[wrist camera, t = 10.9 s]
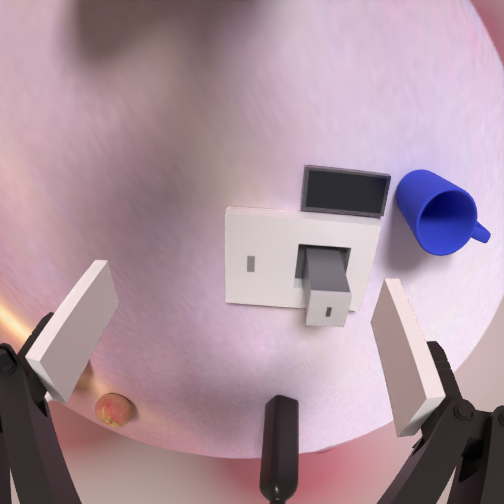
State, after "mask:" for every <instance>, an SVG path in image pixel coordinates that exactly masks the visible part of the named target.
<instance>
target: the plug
mask: <svg viewBox="0 0 504 504" xmlns="http://www.w3.org/2000/svg"><path fill="white" fill-rule="evenodd" d="M302 275H303V287H304V301H305V315H306V321H305V322H306V325H309V326H330V327H344V325H345V322H346V318H347V314H348V311H349V307H350V303H351V299H352V293H351V292H350V288H349V284H348V281H347V277H346V273H345V270H344V266H343V263H342V259H341V256H340V252H339V249H338V247H329V246H316V245H306V248H305V256H304V264H303V271H302Z"/></svg>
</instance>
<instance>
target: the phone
mask: <svg viewBox="0 0 504 504" xmlns="http://www.w3.org/2000/svg"><path fill="white" fill-rule="evenodd" d="M390 179H391V176H390V175H389V174H384V173H376V172H369V171H361V170H352V169H343V168H334V167H324V166H313V165H305V168H304V179H303V190H302V200H301V209H312V210H324V211H336V212H347V213H357V214H367V215H377V216H383V215H384V210H385V205H386V200H387V195H388V190H389V184H390Z"/></svg>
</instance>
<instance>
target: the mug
mask: <svg viewBox="0 0 504 504" xmlns="http://www.w3.org/2000/svg"><path fill="white" fill-rule="evenodd" d="M397 203H398V206H399V208H400V210H401V212H402V214H403V216H404V217H405V219H406V221H407V223H408V224H409V226H410V228H411V230H412V232H413V234H414V235H415V237H416V239H417V241H418V243H419V244H420V246H421V247H422V248H423V249H424V250H425V251H427V252H428V253H430V254H433V255H438V256H443V255H449V254H452V253H454V252H456V251H458V250H459V249H461V248H462V247H463V246H464V245H465V244H466V243H467V242H468V241H469V239H470V238H471V237H472V238H474V239H476V240H478V241H480V242H483V243H487V242H488V240H489V238H490V235H491V234H490V232H489V231H488V230H487V229H485V228H484V227H483V226H482V225H481V224H480V223H479V222H477V208H476V204H475V202H474V200H473V198H472V197H471V196H470V194H469V193H467V192H466V191H465V190H463V189H461V188H460V187H458V186H456V185H454V184H453V183H451V182H449V181H447V180H445V179H444V178H442V177H440V176H438V175H436V174H434V173H432V172H430V171H427V170H415V171H412V172H410V173H408V174H407V175H406V176H405V177H404V178H403V179H402V180H401V182H400V183H399V186H398V189H397Z"/></svg>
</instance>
